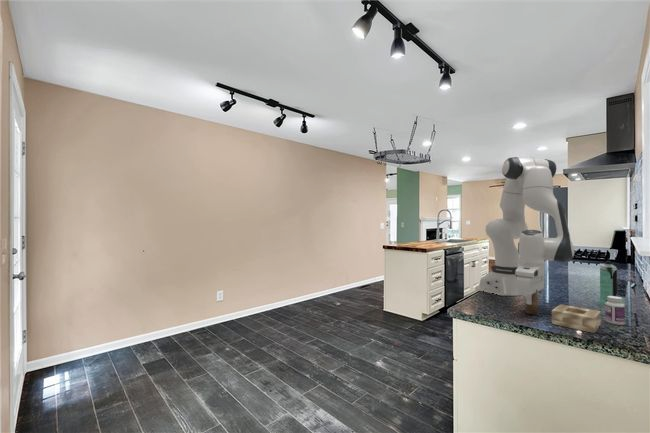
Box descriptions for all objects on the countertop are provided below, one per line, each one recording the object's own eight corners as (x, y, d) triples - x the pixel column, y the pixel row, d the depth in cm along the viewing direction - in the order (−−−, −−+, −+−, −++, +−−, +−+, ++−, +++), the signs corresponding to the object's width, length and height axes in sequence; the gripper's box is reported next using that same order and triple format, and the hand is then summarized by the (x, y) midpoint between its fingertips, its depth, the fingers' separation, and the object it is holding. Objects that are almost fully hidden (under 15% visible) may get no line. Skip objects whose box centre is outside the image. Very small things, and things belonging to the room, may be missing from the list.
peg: (524, 312, 123) (524, 288, 123) (527, 310, 126) (527, 287, 126) (535, 315, 120) (535, 290, 120) (538, 313, 123) (538, 288, 122)
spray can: (620, 308, 129) (620, 262, 129) (606, 307, 130) (605, 261, 130) (611, 304, 135) (610, 260, 135) (597, 303, 136) (596, 260, 136)
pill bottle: (625, 322, 112) (625, 297, 112) (624, 326, 108) (624, 299, 108) (605, 319, 116) (605, 294, 116) (604, 322, 112) (604, 297, 112)
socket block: (551, 323, 112) (551, 310, 112) (560, 316, 119) (560, 304, 119) (594, 333, 103) (594, 318, 103) (600, 324, 110) (600, 311, 110)
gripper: (531, 265, 132) (531, 296, 132) (513, 271, 119) (513, 305, 119) (548, 267, 127) (548, 299, 127) (531, 273, 114) (532, 309, 114)
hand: (531, 302), depth 123 cm, fingers closed on peg, 4 cm apart
